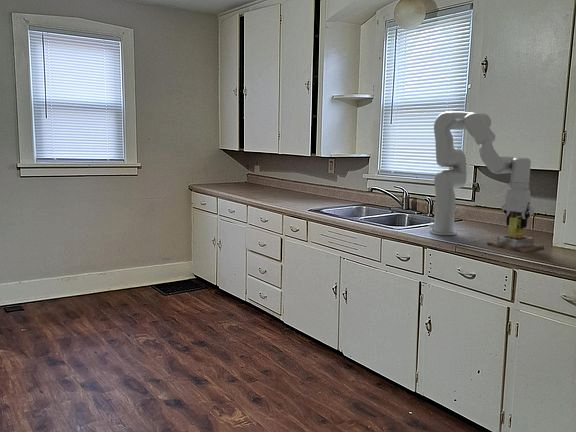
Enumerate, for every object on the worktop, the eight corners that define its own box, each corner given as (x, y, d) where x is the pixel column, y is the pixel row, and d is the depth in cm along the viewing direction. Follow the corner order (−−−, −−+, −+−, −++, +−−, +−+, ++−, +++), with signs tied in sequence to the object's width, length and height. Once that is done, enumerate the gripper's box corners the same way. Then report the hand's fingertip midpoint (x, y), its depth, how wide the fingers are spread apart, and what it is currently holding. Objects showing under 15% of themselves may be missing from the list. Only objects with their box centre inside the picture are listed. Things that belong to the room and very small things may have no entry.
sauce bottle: (517, 242, 236) (521, 197, 233) (504, 240, 241) (507, 196, 238) (525, 241, 240) (529, 196, 237) (512, 238, 245) (516, 195, 242)
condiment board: (487, 244, 244) (487, 235, 243) (507, 241, 252) (507, 232, 252) (523, 252, 229) (524, 242, 228) (543, 248, 237) (544, 239, 237)
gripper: (496, 184, 241) (494, 224, 244) (532, 188, 227) (529, 230, 230) (507, 184, 246) (504, 222, 249) (542, 187, 232) (539, 228, 234)
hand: (516, 226), depth 239 cm, fingers closed on sauce bottle, 6 cm apart
